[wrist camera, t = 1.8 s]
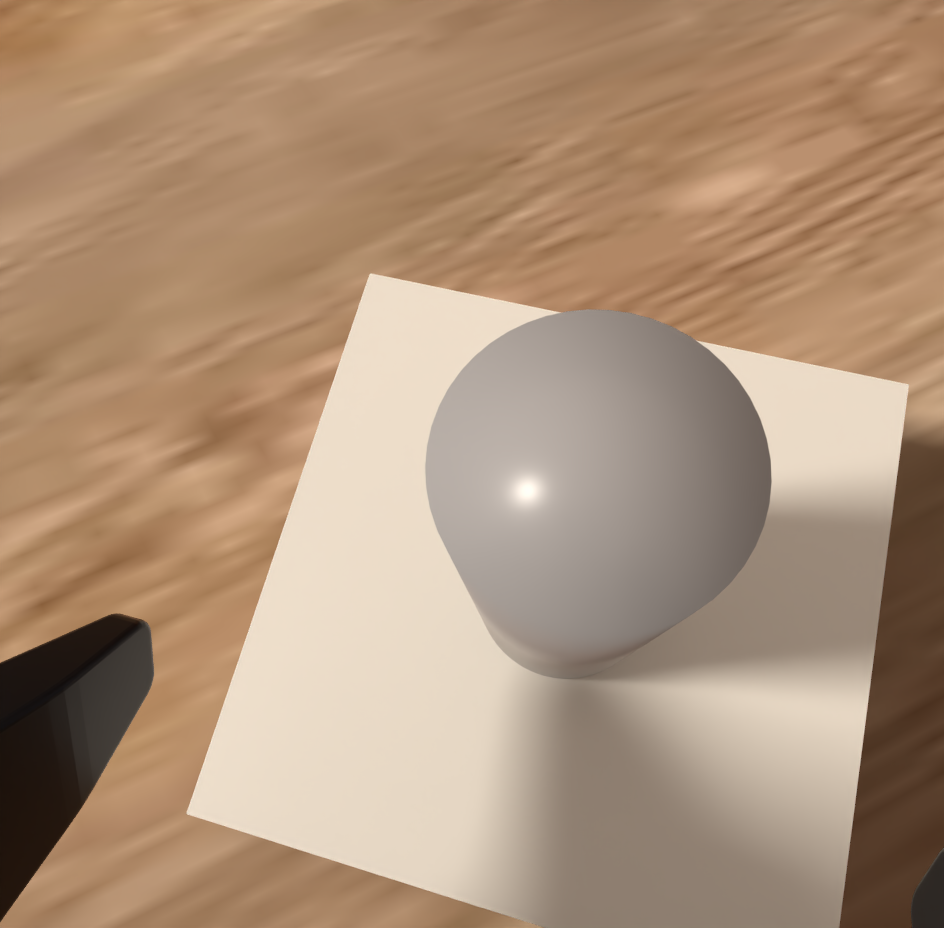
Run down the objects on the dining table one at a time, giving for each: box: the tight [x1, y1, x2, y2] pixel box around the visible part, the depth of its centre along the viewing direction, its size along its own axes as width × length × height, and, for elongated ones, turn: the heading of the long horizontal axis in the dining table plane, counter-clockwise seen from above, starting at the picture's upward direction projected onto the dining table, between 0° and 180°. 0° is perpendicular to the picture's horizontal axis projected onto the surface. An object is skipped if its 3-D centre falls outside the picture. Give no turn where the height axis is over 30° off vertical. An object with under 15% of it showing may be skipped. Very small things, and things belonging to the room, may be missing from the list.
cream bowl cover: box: [187, 273, 909, 928], centre depth 13 cm, size 11×11×12 cm
